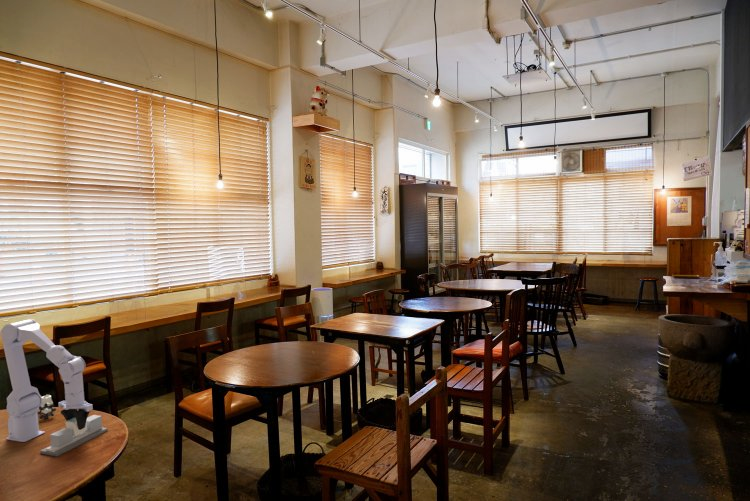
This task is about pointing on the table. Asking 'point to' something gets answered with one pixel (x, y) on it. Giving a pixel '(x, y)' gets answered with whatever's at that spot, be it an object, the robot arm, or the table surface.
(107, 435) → the table surface
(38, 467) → the table surface
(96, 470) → the table surface
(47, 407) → the valve
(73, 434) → the cream module
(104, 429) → the board
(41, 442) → the table surface
